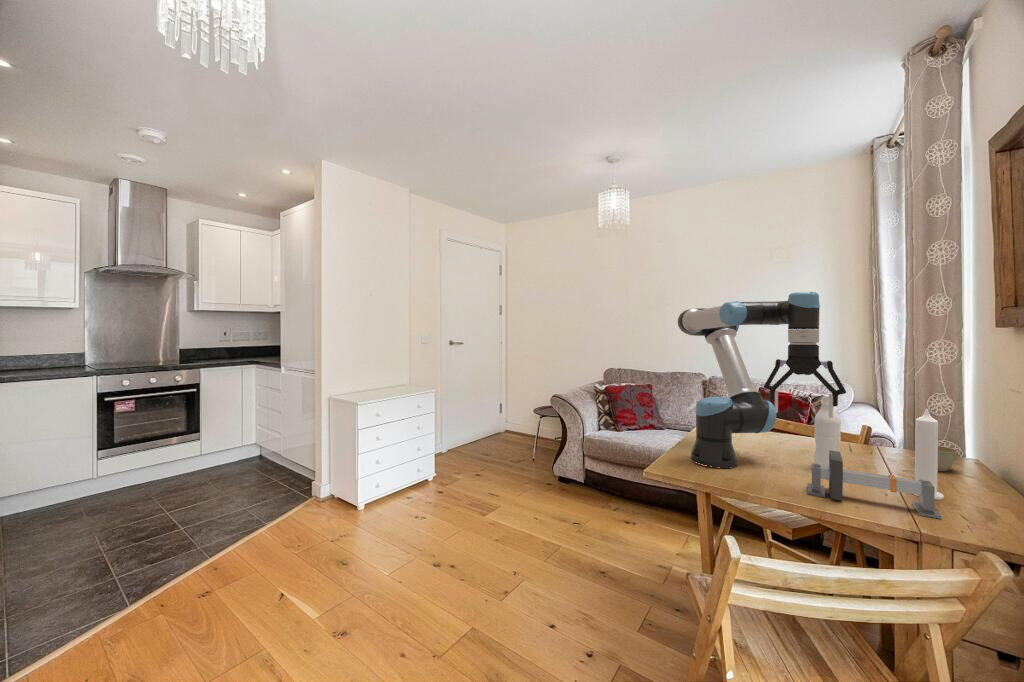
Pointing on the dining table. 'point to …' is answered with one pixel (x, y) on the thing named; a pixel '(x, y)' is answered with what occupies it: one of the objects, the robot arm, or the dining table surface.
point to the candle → (927, 451)
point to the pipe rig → (880, 486)
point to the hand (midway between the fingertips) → (802, 414)
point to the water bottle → (826, 433)
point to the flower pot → (946, 458)
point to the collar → (836, 475)
